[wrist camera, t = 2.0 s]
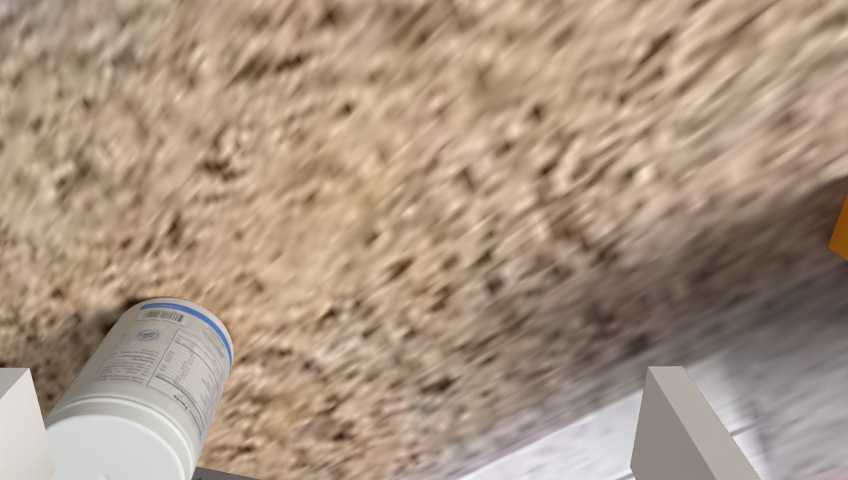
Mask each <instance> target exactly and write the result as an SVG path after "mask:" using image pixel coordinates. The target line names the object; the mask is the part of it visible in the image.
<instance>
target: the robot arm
mask: <svg viewBox="0 0 848 480" xmlns="http://www.w3.org/2000/svg"><path fill="white" fill-rule="evenodd" d="M630 468H631V470H632V472H633V474H634V477H635V479H636V480H761V479H760V477H759V476H758V474H757V473H756V471H755V470H754V468H753V467H752V466H751V464H750V463H749V461H748V460H747V458H746V457H745V455H744V454H743V453H742V451H741V450H740V448H739V447H738V445H737V444H736V442H735V441H734V440H733V438H732V437H731V435H730V434H729V432H728V431H727V429H726V428H725V427H724V425H723V424H722V422H721V421H720V419H719V418H718V416H717V415H716V414H715V412H714V411H713V409H712V408H711V406H710V405H709V404H708V402H707V401H706V399H705V398H704V396H703V395H702V393H701V392H700V391H699V389H698V388H697V386H696V385H695V383H694V382H693V380H692V379H691V378H690V376H689V375H688V373H687V372H686V370H685V369H684V367H683V366H648V368H647V374H646V379H645V385H644V391H643V396H642V402H641V408H640V413H639V419H638V424H637V430H636V436H635V441H634V447H633V453H632V458H631V464H630ZM55 472H56V469H55V465H54V461H53V457H52V453H51V449H50V445H49V442H48V438H47V434H46V430H45V426H44V422H43V419H42V415H41V411H40V407H39V403H38V399H37V395H36V392H35V388H34V384H33V380H32V376H31V372H30V369H29V368H0V480H50V479H51V477H52V476H53V475H54V473H55Z"/></svg>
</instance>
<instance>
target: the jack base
mask: <svg viewBox="0 0 848 480" xmlns="http://www.w3.org/2000/svg"><path fill="white" fill-rule="evenodd" d="M191 480H257V479H253V478H248V477H243V476H238V475H233V474H229V473H224V472H219V471H214V470H209V469H205V468H200V467H196V468H195V471H194V473H193V476H192V478H191Z"/></svg>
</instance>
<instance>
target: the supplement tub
mask: <svg viewBox="0 0 848 480" xmlns="http://www.w3.org/2000/svg"><path fill="white" fill-rule="evenodd" d="M233 356H234V352H233V344H232V341H231V338H230V335H229V333H228V331H227V329H226V328H225V326H224V325H223V323H222V322H221V321H220V320H219V319H218V318H217V317H216V316H215V315H214V314H213V313H211V312H210V311H209V310H207V309H206V308H204V307H202V306H200V305H198V304H196V303H194V302H191V301H188V300H184V299H179V298H155V299H150V300H146V301H143V302H141V303H139V304H137V305H135V306H133V307H131V308H130V309H129V310H127V311H126V312H125V313H124V314H123V315H122V316H121V317H120V318H119V319H118V320H117V322H116V323H115V324H114V325H113V327H112V328H111V330H110V331H109V332H108V334H107V335H106V337H105V338H104V339H103V341H102V342H101V343H100V345H99V346H98V348H97V349H96V350H95V352H94V353H93V354H92V356H91V357H90V358H89V360H88V361H87V363H86V364H85V365H84V367H83V368H82V369H81V371H80V372H79V374H78V375H77V376H76V378H75V379H74V380H73V382H72V383H71V384H70V386H69V387H68V388H67V390H66V391H65V392H64V394H63V395H62V397H61V398H60V399H59V401H58V402H57V403H56V405H55V406H54V408H53V409H52V410H51V412H50V413H49V415H48V416H47V417H46V419H45V420H44V426H45V430H46V434H47V438H48V442H49V445H50V449H51V453H52V457H53V461H54V465H55V469H56V472H55V473H54V475H53V476H52V477H51V479H50V480H191V478H192V476H193V473H194V471H195V468H196V465H197V463H198V460H199V457H200V454H201V452H202V449H203V446H204V443H205V440H206V438H207V435H208V432H209V429H210V426H211V424H212V421H213V418H214V415H215V412H216V410H217V407H218V404H219V401H220V399H221V396H222V393H223V390H224V387H225V385H226V382H227V379H228V376H229V374H230V371H231V368H232V364H233Z"/></svg>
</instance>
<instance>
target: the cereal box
mask: <svg viewBox="0 0 848 480" xmlns="http://www.w3.org/2000/svg"><path fill="white" fill-rule="evenodd" d="M828 248H829V249H830V250H832V251H833V252H835V253H836V254H838V255H839V256H841V257H842V258H844V259H845V260H847V261H848V193H847V196H846V199H845V202H844V204H843V207H842V210H841V213H840V215H839V218H838V221H837V224H836V226H835V229H834V232H833V235H832V237H831V240H830V243H829V246H828Z"/></svg>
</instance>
